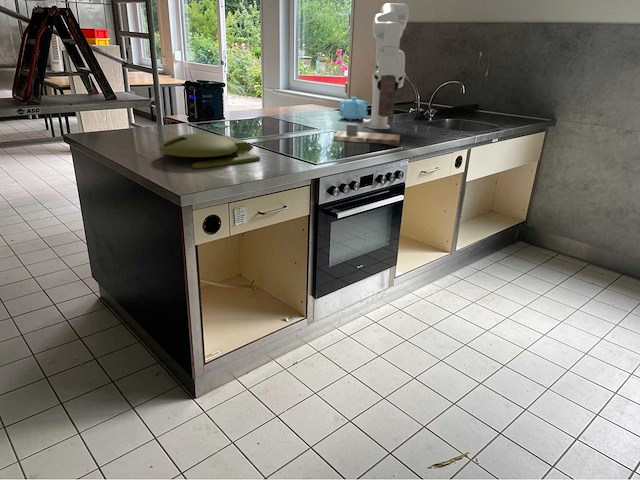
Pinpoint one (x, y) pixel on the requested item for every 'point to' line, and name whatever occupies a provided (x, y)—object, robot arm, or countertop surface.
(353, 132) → the gray cube
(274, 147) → the countertop surface
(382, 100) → the brown wooden block
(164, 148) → the spaceship
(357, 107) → the decorative pot
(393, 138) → the light wood flat board
